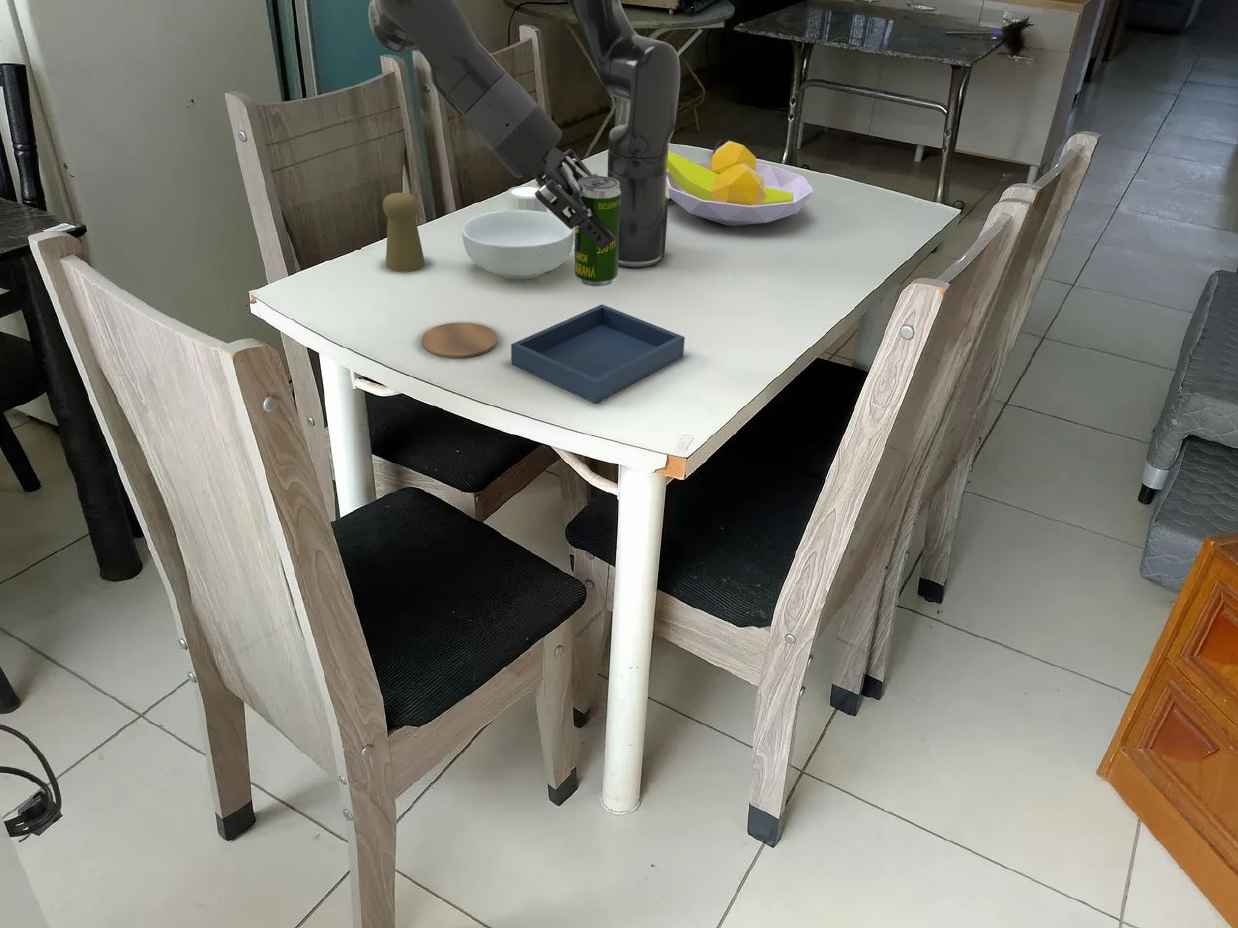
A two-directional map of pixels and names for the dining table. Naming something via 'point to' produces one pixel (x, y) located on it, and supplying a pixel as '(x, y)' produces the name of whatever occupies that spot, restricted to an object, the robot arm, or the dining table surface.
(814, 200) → the dining table surface
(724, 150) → the fruit bowl
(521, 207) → the white faceted cup
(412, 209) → the pepper shaker
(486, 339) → the coaster
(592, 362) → the tray
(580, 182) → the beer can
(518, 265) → the cereal bowl
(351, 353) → the dining table surface
